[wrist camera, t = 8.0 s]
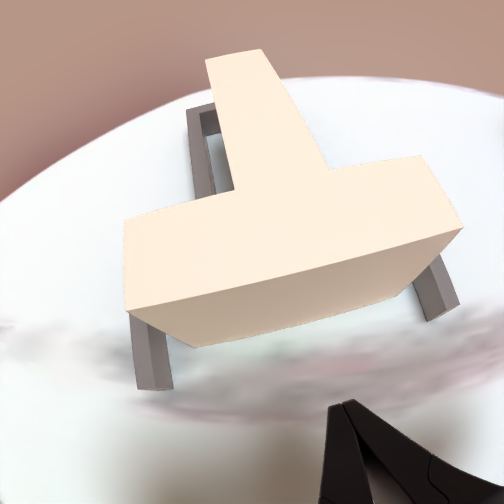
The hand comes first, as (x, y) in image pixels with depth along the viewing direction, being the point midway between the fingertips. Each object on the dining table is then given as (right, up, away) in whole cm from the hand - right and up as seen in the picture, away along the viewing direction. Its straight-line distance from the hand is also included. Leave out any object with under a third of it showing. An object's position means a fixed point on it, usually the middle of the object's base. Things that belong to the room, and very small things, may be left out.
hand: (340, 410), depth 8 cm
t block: (-2, +7, +11) cm, 13 cm away
